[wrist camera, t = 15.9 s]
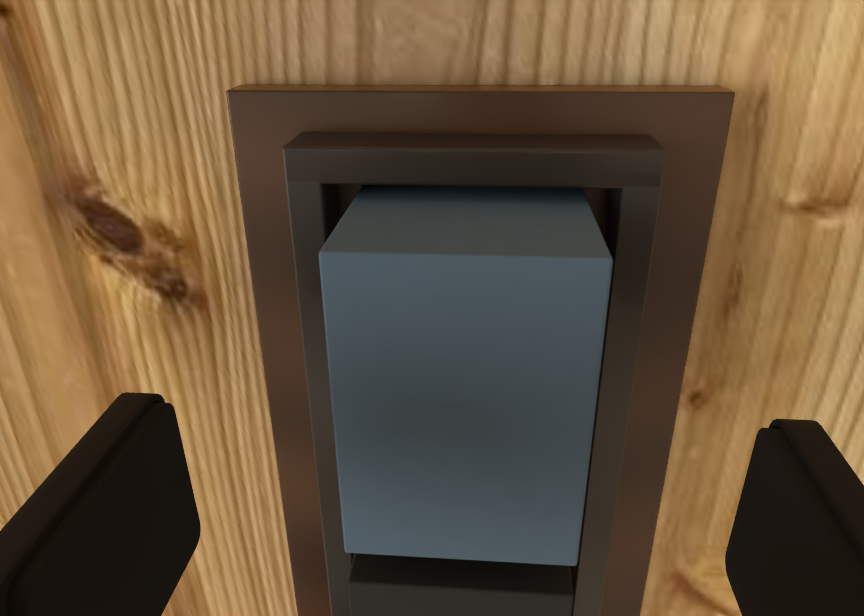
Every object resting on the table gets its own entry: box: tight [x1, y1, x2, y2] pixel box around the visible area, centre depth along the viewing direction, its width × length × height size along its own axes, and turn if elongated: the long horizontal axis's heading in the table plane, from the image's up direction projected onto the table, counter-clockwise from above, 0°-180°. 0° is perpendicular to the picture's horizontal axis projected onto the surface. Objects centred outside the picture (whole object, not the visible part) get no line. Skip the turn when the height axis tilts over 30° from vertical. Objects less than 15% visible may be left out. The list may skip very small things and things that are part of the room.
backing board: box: [226, 85, 735, 616], centre depth 18 cm, size 19×11×2 cm, turn 0°
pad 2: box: [348, 553, 574, 616], centre depth 18 cm, size 7×5×4 cm
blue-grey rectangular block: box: [319, 185, 613, 566], centre depth 15 cm, size 7×5×4 cm
